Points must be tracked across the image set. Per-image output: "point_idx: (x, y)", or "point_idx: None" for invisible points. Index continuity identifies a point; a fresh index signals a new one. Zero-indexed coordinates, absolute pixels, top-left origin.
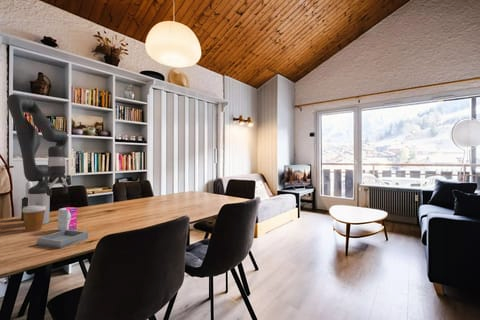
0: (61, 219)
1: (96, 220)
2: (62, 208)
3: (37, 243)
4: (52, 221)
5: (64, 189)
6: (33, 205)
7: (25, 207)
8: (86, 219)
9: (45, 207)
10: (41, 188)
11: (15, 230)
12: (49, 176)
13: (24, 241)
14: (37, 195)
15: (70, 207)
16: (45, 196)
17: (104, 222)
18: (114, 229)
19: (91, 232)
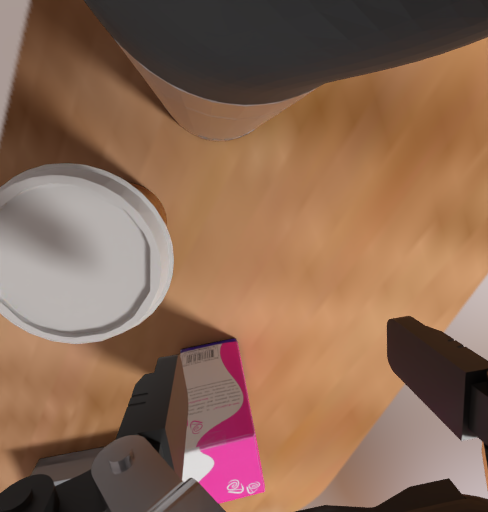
0: None
1: None
2: (193, 458)
3: (36, 467)
4: (287, 113)
5: (427, 377)
6: (92, 184)
7: (9, 198)
8: (394, 257)
9: (152, 306)
10: (203, 43)
11: (60, 135)
12: None
13: (23, 381)
14: (147, 73)
15: (248, 456)
16: (257, 111)
17: (375, 385)
18: (306, 497)
19: None
